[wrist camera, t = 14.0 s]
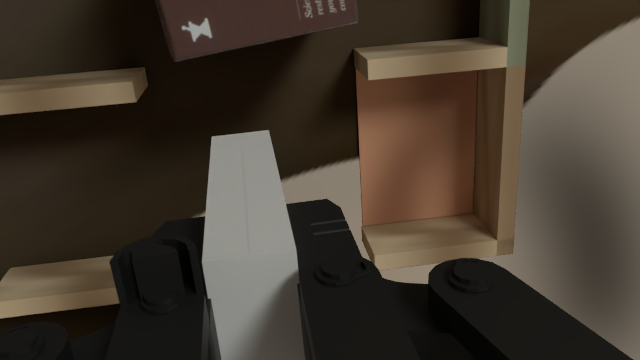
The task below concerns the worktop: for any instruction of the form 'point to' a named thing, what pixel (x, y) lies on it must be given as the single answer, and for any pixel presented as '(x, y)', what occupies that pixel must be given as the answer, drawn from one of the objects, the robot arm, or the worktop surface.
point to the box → (245, 23)
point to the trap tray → (374, 151)
